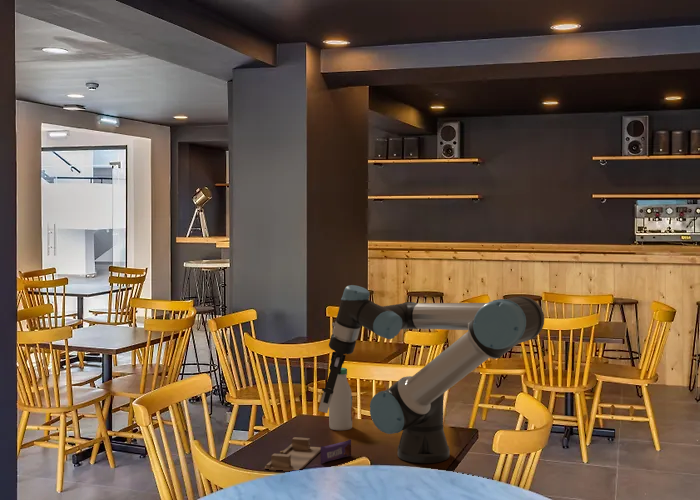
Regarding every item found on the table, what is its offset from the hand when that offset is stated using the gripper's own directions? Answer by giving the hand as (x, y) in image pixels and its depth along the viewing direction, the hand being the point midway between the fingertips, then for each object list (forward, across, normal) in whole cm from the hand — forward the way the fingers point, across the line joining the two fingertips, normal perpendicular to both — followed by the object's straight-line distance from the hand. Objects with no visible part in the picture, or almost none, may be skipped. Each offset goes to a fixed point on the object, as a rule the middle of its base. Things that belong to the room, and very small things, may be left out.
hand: (325, 402), depth 229 cm
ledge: (+15, +10, -4) cm, 19 cm away
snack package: (+12, +10, +8) cm, 17 cm away
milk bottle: (+19, -24, +7) cm, 31 cm away
